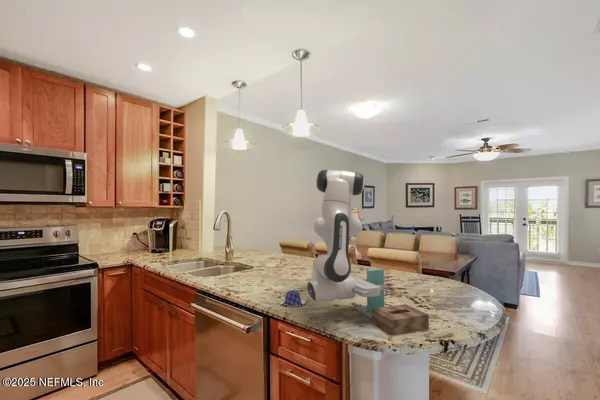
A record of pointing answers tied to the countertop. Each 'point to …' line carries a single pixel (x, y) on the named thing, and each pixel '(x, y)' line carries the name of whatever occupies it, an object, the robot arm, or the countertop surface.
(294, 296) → the pudding
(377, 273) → the cover plate
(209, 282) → the countertop surface
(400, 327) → the slot box
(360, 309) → the mat
